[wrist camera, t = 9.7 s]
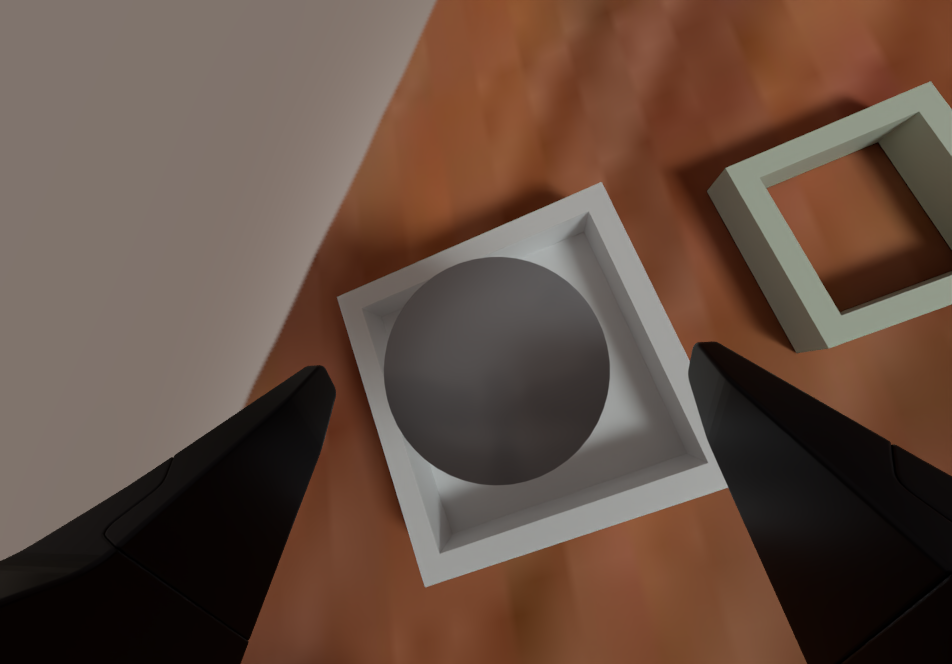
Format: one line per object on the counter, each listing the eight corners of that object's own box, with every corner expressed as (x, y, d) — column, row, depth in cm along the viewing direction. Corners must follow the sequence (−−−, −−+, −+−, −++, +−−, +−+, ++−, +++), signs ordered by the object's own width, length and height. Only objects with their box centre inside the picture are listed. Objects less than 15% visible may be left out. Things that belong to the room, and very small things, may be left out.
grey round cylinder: (597, 376, 18) (662, 359, 8) (523, 456, 18) (496, 537, 8) (516, 305, 19) (486, 214, 9) (447, 381, 19) (342, 371, 9)
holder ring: (1003, 278, 16) (1066, 263, 14) (796, 353, 17) (828, 348, 15) (888, 115, 18) (930, 81, 16) (706, 191, 19) (725, 168, 17)
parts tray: (713, 465, 17) (748, 481, 14) (444, 555, 18) (425, 587, 15) (593, 212, 20) (601, 182, 17) (365, 309, 21) (336, 296, 18)
